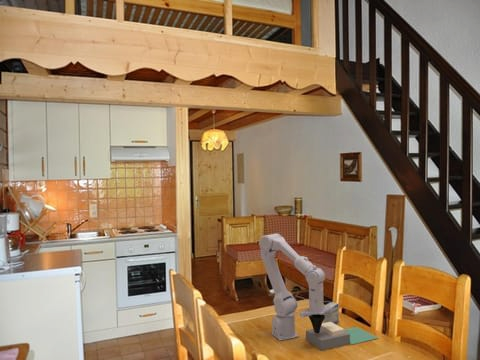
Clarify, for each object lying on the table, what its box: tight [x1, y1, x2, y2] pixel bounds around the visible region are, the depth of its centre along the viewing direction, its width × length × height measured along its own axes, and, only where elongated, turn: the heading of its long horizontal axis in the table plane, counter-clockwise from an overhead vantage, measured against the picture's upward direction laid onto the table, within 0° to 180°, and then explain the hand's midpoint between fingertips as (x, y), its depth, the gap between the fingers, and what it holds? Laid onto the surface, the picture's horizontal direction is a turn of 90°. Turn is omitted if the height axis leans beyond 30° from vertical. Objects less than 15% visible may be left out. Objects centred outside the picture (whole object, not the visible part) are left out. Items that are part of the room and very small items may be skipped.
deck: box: [305, 328, 351, 352], centre depth 152 cm, size 14×11×4 cm
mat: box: [344, 326, 379, 346], centre depth 158 cm, size 14×13×1 cm
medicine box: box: [323, 301, 340, 325], centre depth 172 cm, size 8×4×9 cm, turn 143°
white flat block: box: [320, 322, 345, 337], centre depth 153 cm, size 6×9×2 cm, turn 23°
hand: (316, 332), depth 150 cm, fingers closed
